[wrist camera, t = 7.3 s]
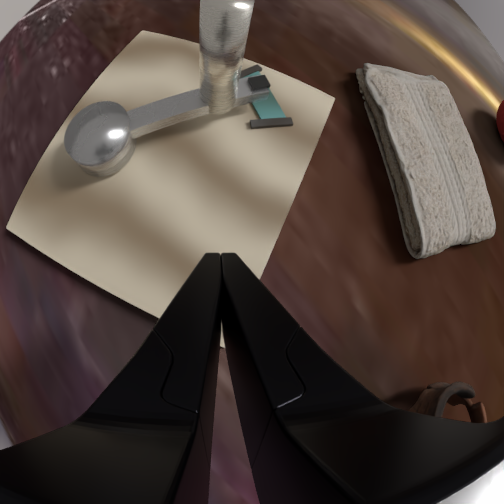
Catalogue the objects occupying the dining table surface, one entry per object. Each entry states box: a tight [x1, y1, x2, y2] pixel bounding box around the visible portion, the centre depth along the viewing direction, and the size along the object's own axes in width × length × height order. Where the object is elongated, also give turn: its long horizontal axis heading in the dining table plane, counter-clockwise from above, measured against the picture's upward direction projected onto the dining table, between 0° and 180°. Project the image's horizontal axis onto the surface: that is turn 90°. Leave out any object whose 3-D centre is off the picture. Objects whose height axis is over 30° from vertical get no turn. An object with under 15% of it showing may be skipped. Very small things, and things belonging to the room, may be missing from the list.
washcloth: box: [356, 63, 496, 259], centre depth 22 cm, size 12×18×3 cm, turn 11°
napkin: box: [6, 30, 335, 348], centre depth 19 cm, size 20×18×1 cm
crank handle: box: [64, 0, 271, 177], centre depth 14 cm, size 14×4×10 cm, turn 112°
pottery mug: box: [407, 382, 487, 423], centre depth 17 cm, size 12×10×8 cm
